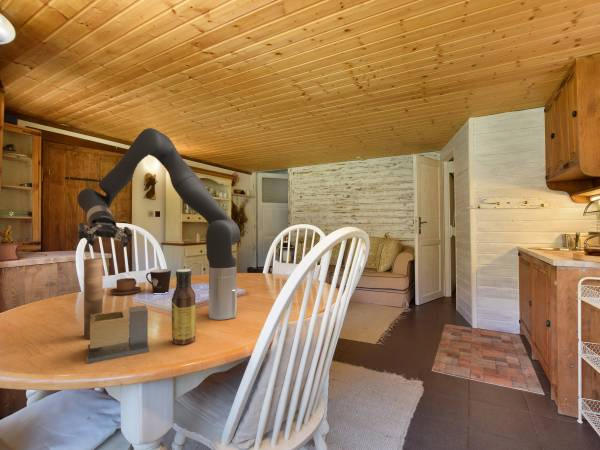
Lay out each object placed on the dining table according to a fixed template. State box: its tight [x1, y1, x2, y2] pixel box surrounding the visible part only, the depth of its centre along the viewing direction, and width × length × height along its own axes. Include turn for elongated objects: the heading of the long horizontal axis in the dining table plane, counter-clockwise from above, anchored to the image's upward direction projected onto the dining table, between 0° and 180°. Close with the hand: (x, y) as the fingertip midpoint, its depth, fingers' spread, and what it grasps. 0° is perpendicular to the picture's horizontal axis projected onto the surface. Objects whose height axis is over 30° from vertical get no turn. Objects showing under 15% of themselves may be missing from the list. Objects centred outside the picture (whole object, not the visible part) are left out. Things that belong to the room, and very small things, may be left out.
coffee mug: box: [145, 268, 172, 294], centre depth 143 cm, size 12×9×10 cm
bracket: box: [86, 304, 150, 364], centre depth 81 cm, size 10×13×10 cm
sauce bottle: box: [171, 268, 197, 345], centre depth 87 cm, size 7×6×20 cm
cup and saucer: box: [109, 277, 142, 296], centre depth 141 cm, size 12×12×6 cm
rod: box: [83, 257, 104, 341], centre depth 90 cm, size 4×4×22 cm
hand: (109, 244), depth 95 cm, fingers open, 8 cm apart
